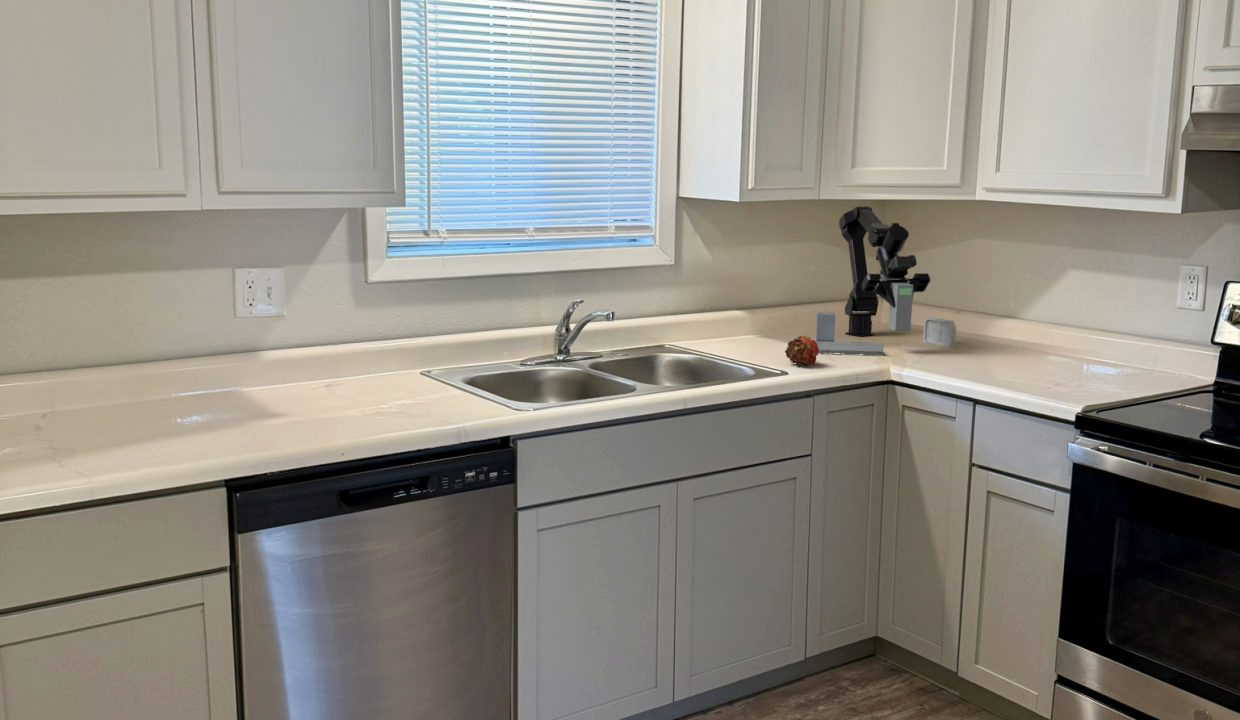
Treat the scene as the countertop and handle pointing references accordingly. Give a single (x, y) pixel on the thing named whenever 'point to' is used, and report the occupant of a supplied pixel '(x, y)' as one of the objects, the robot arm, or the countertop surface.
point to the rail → (827, 344)
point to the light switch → (939, 332)
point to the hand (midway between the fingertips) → (902, 306)
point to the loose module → (901, 307)
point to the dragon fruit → (802, 350)
